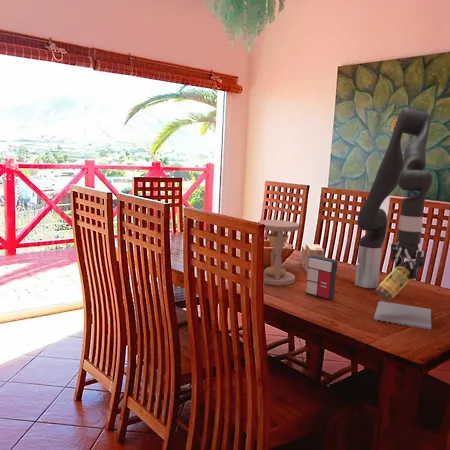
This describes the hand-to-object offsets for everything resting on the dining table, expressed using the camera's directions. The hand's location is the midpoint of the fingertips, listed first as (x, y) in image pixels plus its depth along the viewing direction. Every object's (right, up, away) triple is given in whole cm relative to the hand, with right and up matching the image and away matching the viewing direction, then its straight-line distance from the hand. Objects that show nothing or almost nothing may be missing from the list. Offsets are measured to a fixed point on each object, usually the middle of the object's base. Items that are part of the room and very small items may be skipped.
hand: (404, 276), depth 160 cm
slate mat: (0, -14, +3) cm, 14 cm away
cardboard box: (-21, -4, +61) cm, 64 cm away
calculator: (-25, -10, +21) cm, 34 cm away
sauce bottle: (-9, -7, -2) cm, 11 cm away
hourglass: (-41, -6, +40) cm, 58 cm away
